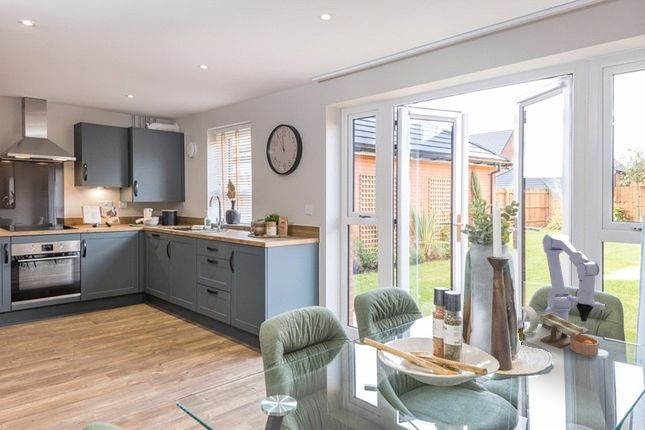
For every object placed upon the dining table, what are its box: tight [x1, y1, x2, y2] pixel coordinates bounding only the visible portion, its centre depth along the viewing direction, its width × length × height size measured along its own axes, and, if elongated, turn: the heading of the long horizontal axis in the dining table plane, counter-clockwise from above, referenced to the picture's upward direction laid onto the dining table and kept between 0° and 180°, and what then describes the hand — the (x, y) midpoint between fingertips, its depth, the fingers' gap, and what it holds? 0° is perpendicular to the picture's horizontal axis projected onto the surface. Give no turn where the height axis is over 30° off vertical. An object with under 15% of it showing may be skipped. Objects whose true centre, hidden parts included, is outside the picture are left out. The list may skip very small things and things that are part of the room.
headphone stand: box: [520, 305, 540, 337], centre depth 200 cm, size 5×6×12 cm
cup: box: [569, 334, 600, 356], centre depth 184 cm, size 10×10×4 cm
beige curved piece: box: [539, 312, 590, 338], centre depth 193 cm, size 16×12×6 cm
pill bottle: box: [517, 316, 524, 342], centre depth 191 cm, size 6×6×11 cm
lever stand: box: [540, 326, 570, 349], centre depth 192 cm, size 9×13×8 cm
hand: (583, 320), depth 189 cm, fingers closed
